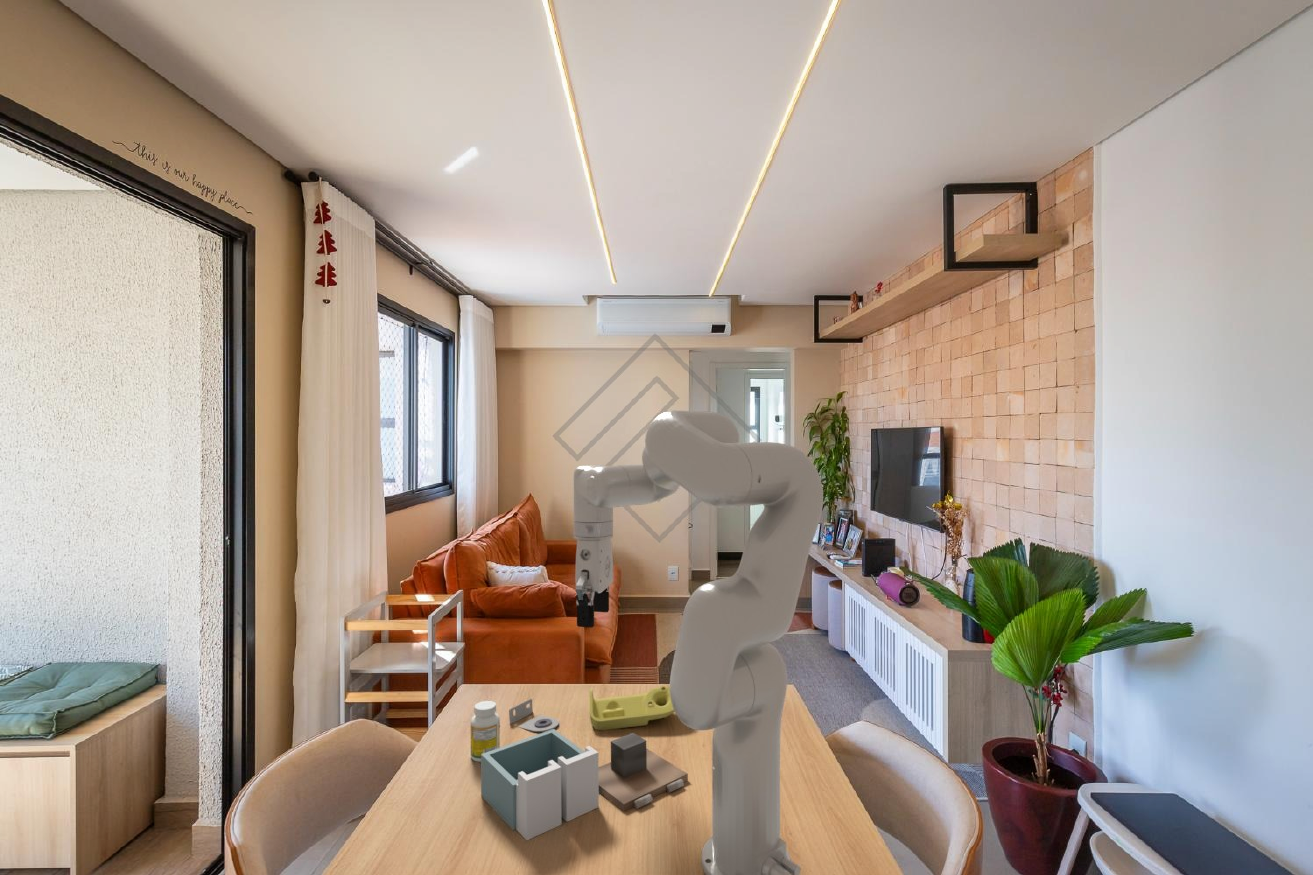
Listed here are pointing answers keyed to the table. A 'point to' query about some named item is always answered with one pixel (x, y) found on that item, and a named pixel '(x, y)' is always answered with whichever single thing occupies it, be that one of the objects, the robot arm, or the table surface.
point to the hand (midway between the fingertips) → (593, 618)
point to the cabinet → (540, 782)
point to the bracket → (533, 724)
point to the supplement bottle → (484, 729)
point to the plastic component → (630, 709)
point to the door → (636, 774)
